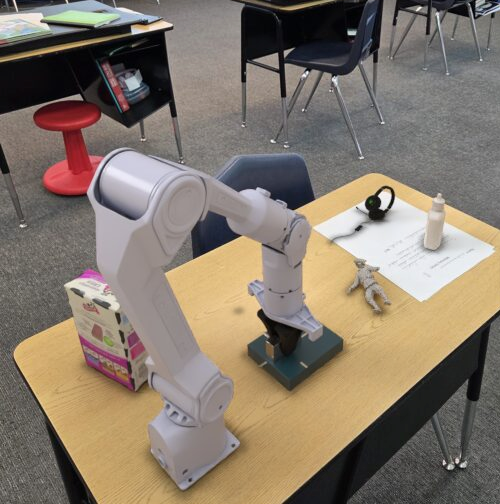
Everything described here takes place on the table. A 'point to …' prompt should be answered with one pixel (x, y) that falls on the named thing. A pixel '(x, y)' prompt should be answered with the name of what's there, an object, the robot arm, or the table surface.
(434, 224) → the eye dropper bottle
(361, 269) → the soldier figure
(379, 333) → the table surface
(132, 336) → the candy bar box
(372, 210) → the headset
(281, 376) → the tap console
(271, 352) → the tap handle
